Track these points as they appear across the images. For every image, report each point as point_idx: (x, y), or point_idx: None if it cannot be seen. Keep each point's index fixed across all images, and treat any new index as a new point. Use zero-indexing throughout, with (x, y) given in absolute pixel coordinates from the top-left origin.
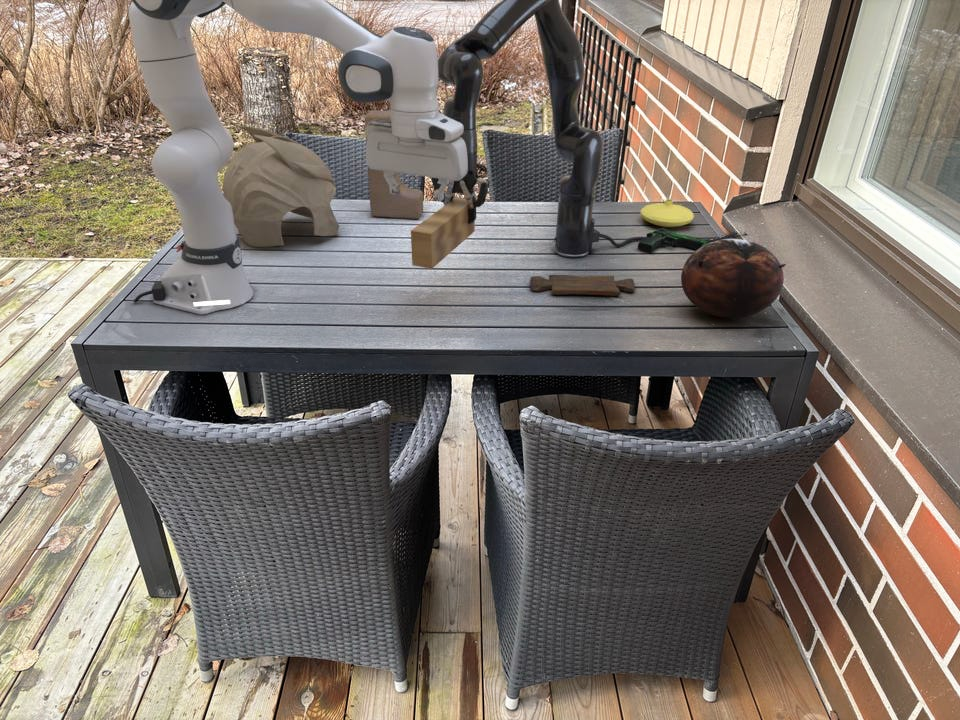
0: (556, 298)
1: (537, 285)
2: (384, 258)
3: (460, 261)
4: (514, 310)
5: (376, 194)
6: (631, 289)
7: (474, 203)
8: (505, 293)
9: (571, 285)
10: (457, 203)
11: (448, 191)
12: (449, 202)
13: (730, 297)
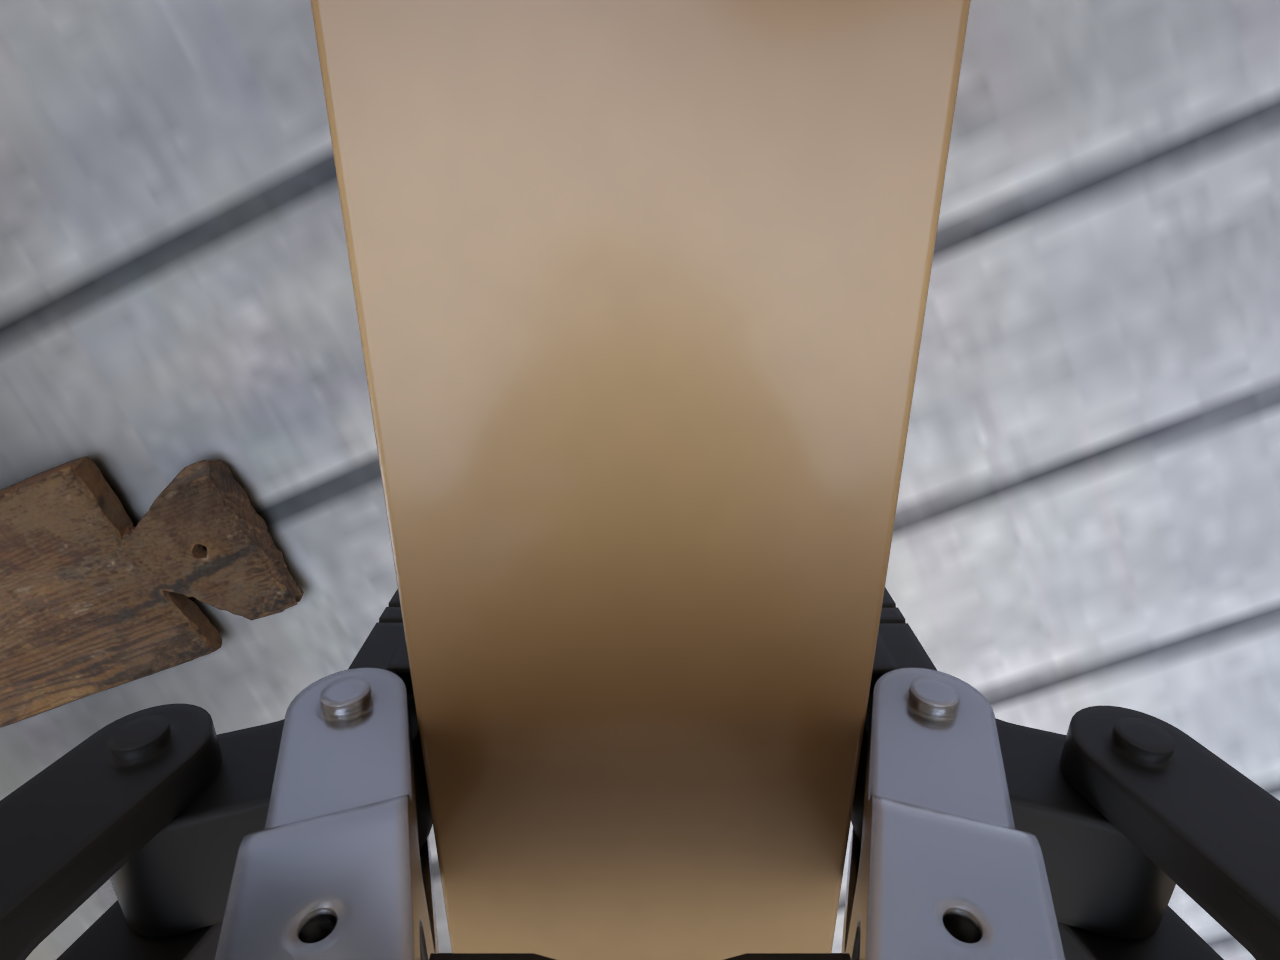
0: (60, 435)
1: (186, 497)
2: (1233, 547)
3: None
4: (172, 166)
5: None
6: None
7: (269, 783)
8: (349, 380)
9: (28, 573)
10: (662, 714)
11: (983, 939)
12: (854, 709)
13: None
